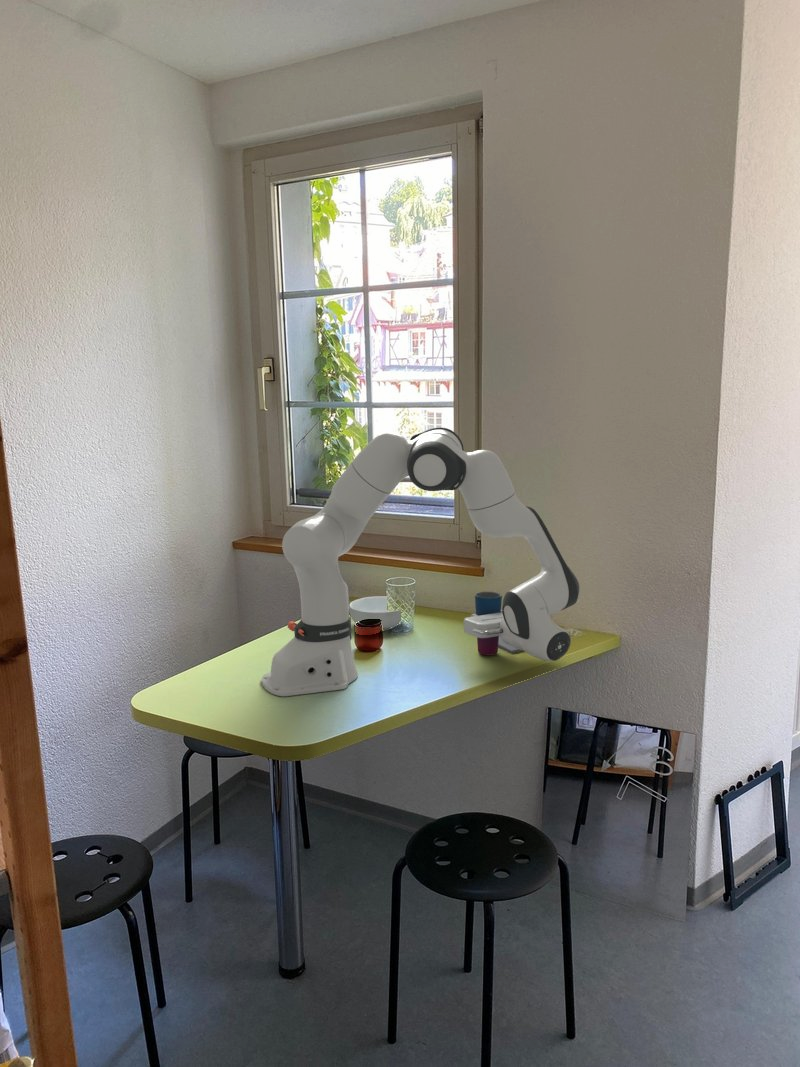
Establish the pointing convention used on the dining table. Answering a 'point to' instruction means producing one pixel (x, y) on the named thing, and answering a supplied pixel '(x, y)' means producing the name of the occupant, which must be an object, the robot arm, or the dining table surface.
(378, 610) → the cereal bowl
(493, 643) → the cup
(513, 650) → the mat
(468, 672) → the dining table surface
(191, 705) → the dining table surface
